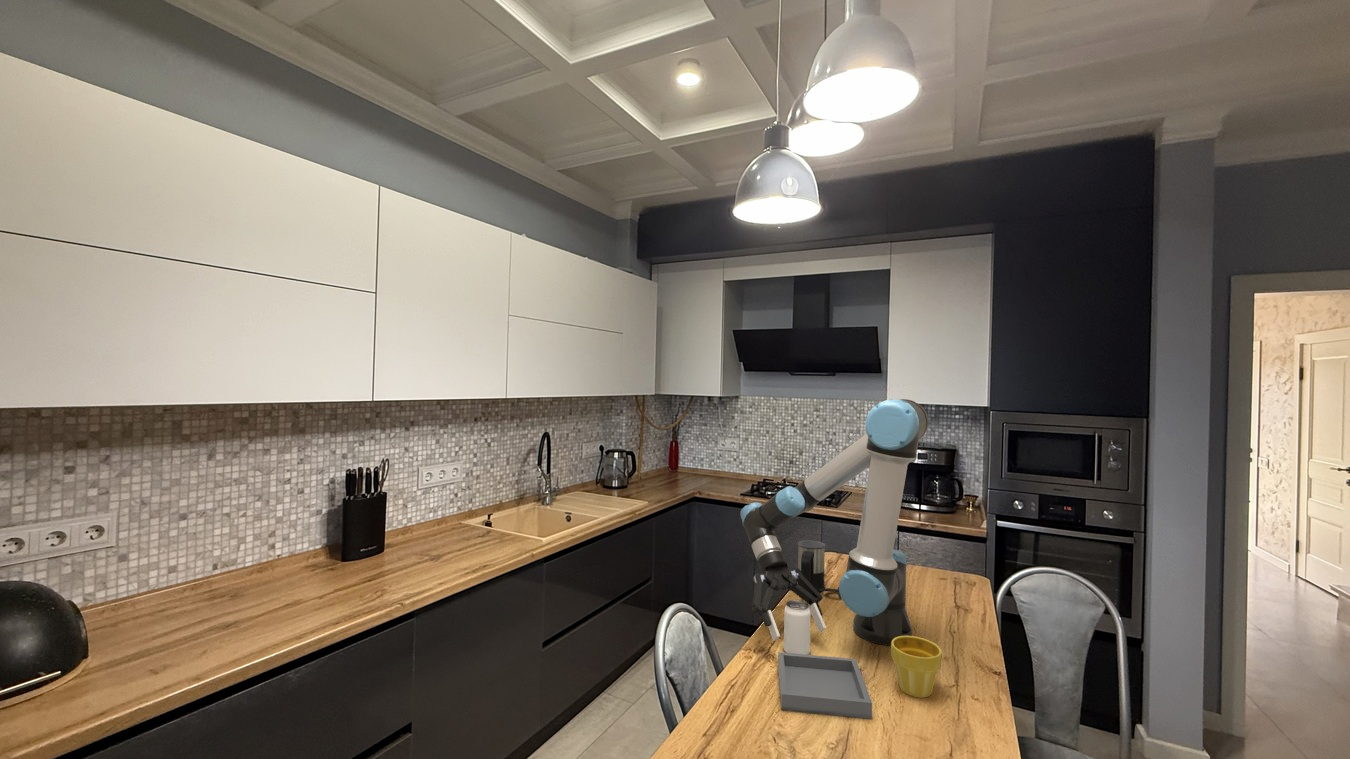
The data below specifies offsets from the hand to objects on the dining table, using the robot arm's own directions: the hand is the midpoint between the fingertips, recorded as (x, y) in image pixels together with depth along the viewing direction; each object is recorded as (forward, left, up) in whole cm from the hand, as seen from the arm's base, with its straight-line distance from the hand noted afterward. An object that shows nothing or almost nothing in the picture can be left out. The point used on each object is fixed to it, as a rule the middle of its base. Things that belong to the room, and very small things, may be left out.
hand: (800, 634), depth 137 cm
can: (+1, -1, -5) cm, 6 cm away
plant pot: (-24, +12, -5) cm, 27 cm away
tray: (-3, +15, -5) cm, 17 cm away
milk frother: (-11, -45, -5) cm, 46 cm away
